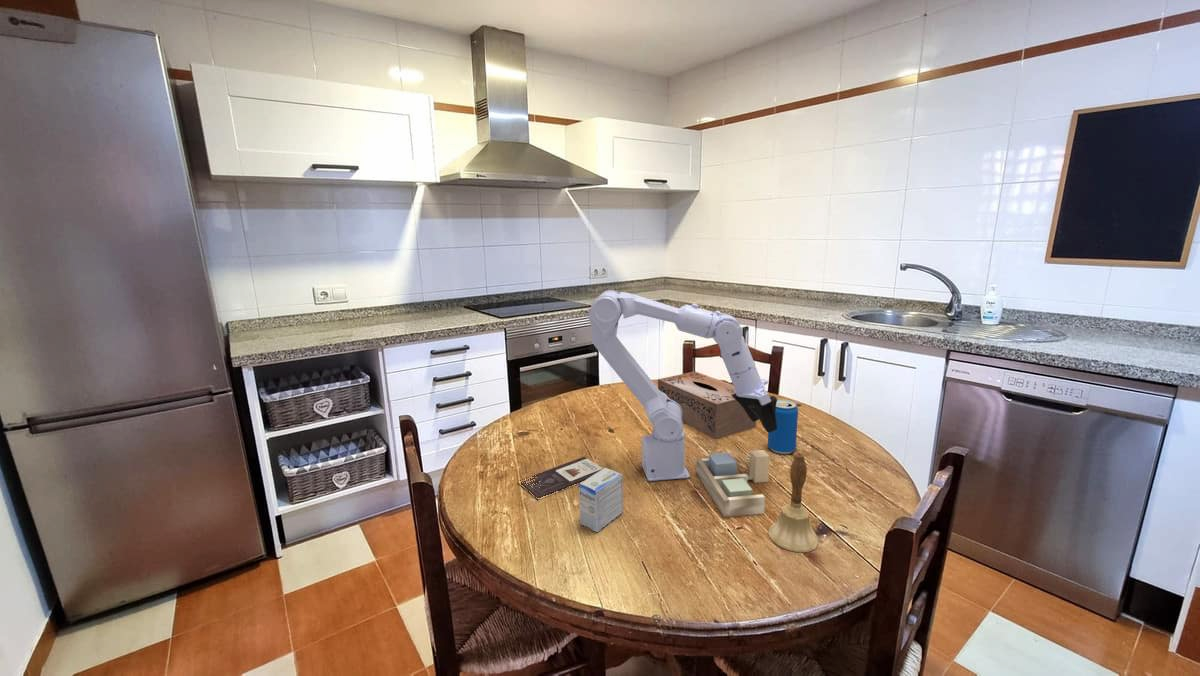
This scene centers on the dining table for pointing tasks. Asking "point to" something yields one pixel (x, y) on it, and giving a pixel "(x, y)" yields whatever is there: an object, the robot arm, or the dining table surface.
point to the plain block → (736, 487)
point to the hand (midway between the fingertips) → (764, 424)
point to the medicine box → (601, 499)
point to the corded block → (728, 465)
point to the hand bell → (795, 516)
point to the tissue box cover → (707, 404)
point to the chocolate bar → (561, 477)
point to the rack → (724, 503)
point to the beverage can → (784, 428)
